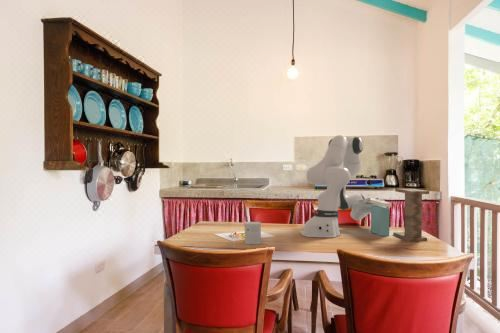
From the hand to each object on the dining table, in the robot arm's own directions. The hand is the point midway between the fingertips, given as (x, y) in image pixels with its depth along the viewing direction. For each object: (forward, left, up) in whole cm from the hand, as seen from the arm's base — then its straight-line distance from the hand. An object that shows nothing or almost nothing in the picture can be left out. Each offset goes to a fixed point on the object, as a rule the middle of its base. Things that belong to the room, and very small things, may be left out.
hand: (373, 198), depth 197 cm
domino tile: (0, -6, -2) cm, 7 cm away
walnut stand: (+11, -21, -19) cm, 31 cm away
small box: (-76, -23, -19) cm, 82 cm away
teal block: (0, -8, -19) cm, 21 cm away
